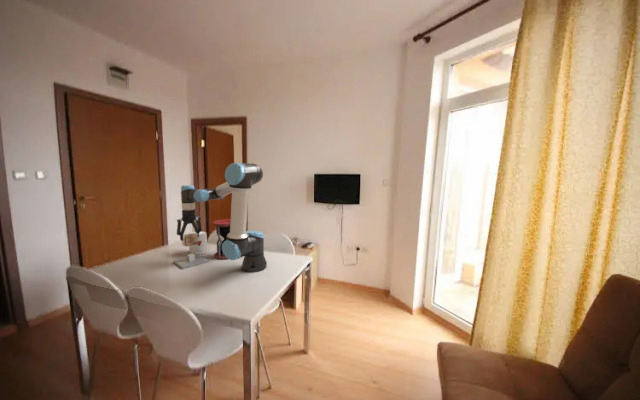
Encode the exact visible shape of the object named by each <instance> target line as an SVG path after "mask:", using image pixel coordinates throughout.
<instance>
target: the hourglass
mask: <svg viewBox="0 0 640 400" xmlns="http://www.w3.org/2000/svg"><path fill="white" fill-rule="evenodd" d="M230 223H231V218H230V219H218V220H214V221H213V222H212V225H213V226H215V230H216V236H217V239H218V240H217V242H216V252H215V253H214V254H213V256H214V259H216V260H229V259H228V258H226V256H225V255H224V254H223V251H222V244H223V243H224V241H226V240H227V234H228V233H230ZM222 238H223V240H222Z"/></svg>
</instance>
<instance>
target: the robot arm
mask: <svg viewBox="0 0 640 400" xmlns="http://www.w3.org/2000/svg"><path fill="white" fill-rule="evenodd" d="M263 171H264V170H263V169H262V167H260V166H259V165H258V164H256V163H249V162H233V163H230V164H229V165H228V166H227V167H226V168H225V172H224V179H225V180H226V181H225V182H223V183H221V184H220V185H217V186H215V187H214V188H199V189H197V188H195V186H194V185H193V184H191V185H190V184H189V185H187V184H186V185H183V184H182V186H181V187H180V198H181V215H182V216H181V218H179V219H176V222H177V225H176V228H177V229H176V235H177V236H179V238H180V239H179V240H180V241H181V246H183V247H184V246H185V236H184V235H185V230H186V228H187V226H188V225H190V224H191V225H192V227H193V230H194V232H196V233H195V234H196V235H198V238H199V233H200V232H201V231H202V230H203V228H202V224H201V217H200V216H196V202H199V203H201V202H206V201H213V200H223V199H224V198H225V197H226V196H227V195H230V194H231V203H230V204H231V205H230V206H231V207H230V219H231V223H230V233H228V234H227V240H226V241H224V243H223V244H222V251H223V254H224V255H225V256H226V258H228V259H227V260H230V261H235V260H239V259H241V258H243V261H242V264H241V270H242V271H244V272H248V273H255V272H256V273H257V272H260V271H261V272H262V271H263V270H265V269H267V268H268V267H267V266H268V264H267V260H266V257H265V252H264V251H265V247H264V246H265V245H264V243H265V240H264V239H265V237H264V233H263V232H262V231H259V230H247V222H248V204H249V203H248V202H249V191H250V190H252V186H254V185H256V184H258V183H259V182H261V181H262V180H263V177H264V172H263ZM195 220H196V222H195ZM182 222H183V223H182ZM202 232H203V231H202ZM185 247H186V246H185Z"/></svg>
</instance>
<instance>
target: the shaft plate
mask: <svg viewBox="0 0 640 400" xmlns="http://www.w3.org/2000/svg"><path fill="white" fill-rule="evenodd" d="M209 262H210V260H209V259H207V258H206V257H203V256H202V255H201V254H198V255H194V254H191V253H188V254H187V256H186V257H184V258H178V259H175V260H173V264H175V265H176V266H177V267H179V268H181V269H182V270H184V269H187V268H191V267H195V266H199V265H203V264H206V263H209Z"/></svg>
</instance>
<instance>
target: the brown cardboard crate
mask: <svg viewBox="0 0 640 400" xmlns="http://www.w3.org/2000/svg"><path fill="white" fill-rule="evenodd" d="M191 233H192V234H189V233H185V234H183V235H184V236H185V247H189V246H192V245H197V244H198V235H196V234H194V233H193V232H191Z"/></svg>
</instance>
